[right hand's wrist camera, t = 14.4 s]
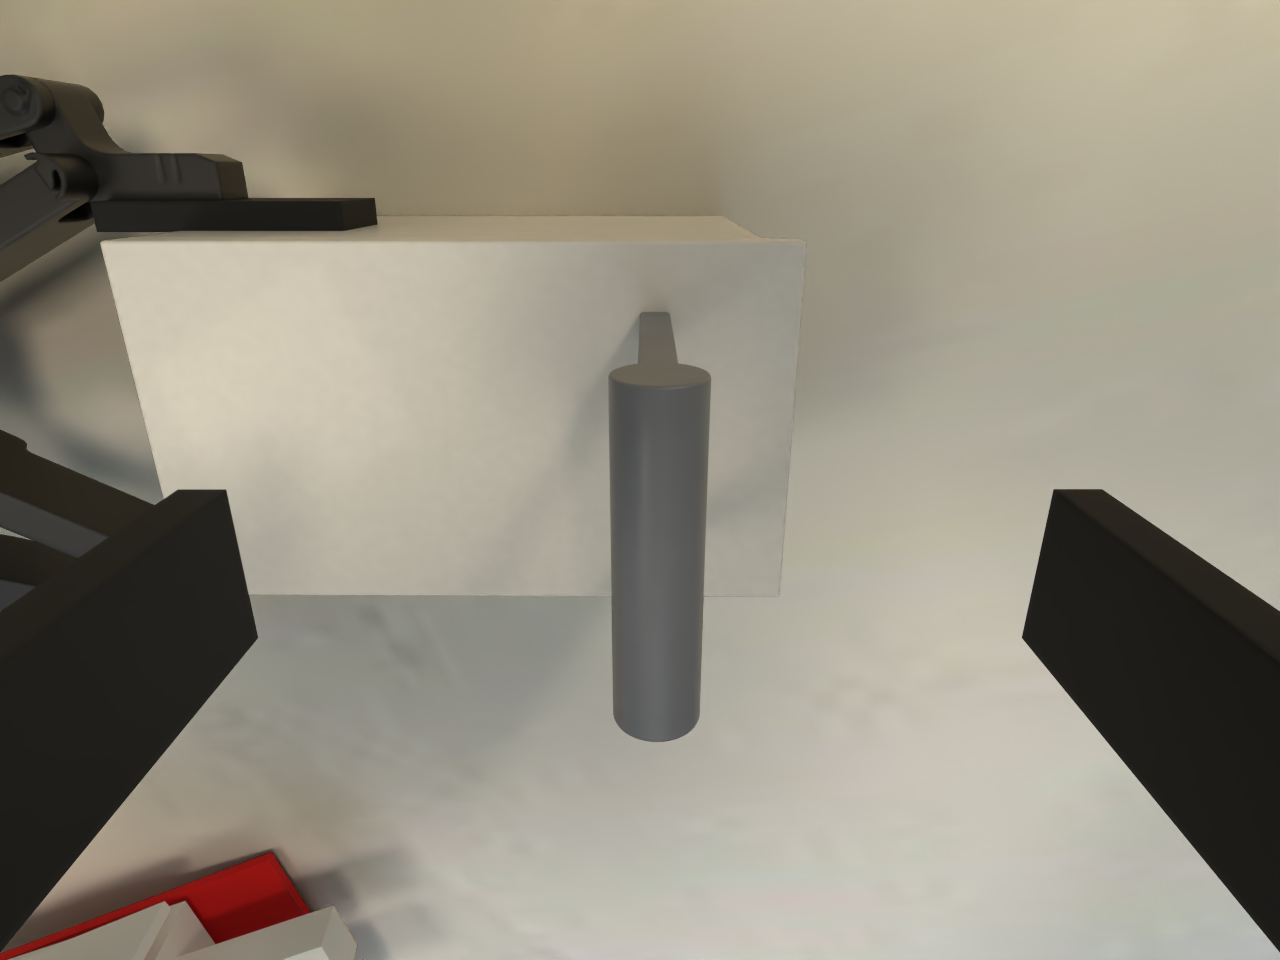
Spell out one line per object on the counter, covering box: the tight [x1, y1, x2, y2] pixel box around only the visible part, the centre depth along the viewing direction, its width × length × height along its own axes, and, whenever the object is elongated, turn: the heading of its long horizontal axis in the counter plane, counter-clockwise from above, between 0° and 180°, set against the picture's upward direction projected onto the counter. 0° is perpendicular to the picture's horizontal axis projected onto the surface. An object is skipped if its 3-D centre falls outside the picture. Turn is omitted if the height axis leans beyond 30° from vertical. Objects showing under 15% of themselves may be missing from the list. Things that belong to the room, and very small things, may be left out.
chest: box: [128, 216, 761, 239], centre depth 24 cm, size 15×9×10 cm, turn 90°
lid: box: [100, 238, 806, 742], centre depth 16 cm, size 16×9×8 cm, turn 90°
